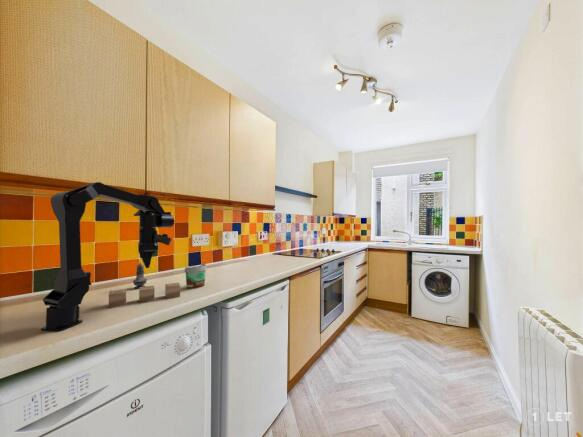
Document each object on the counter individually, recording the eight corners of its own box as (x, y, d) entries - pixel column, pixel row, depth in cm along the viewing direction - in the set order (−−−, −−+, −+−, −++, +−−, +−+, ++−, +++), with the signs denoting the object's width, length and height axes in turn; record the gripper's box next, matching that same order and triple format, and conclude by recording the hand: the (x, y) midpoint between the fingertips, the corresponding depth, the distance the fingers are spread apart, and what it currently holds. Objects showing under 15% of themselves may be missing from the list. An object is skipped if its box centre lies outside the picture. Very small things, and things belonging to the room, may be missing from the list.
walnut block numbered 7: (125, 305, 87) (125, 291, 87) (108, 308, 84) (108, 293, 84) (126, 301, 91) (126, 288, 91) (109, 304, 88) (110, 290, 89)
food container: (195, 290, 107) (195, 268, 107) (184, 289, 109) (184, 267, 109) (212, 284, 118) (212, 264, 119) (202, 283, 120) (202, 263, 121)
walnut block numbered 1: (180, 296, 97) (180, 284, 97) (166, 299, 94) (166, 286, 95) (178, 294, 101) (178, 281, 102) (165, 296, 99) (165, 283, 99)
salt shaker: (130, 289, 108) (130, 263, 108) (135, 286, 114) (135, 261, 114) (144, 288, 110) (145, 263, 110) (148, 285, 115) (149, 261, 116)
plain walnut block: (154, 301, 92) (154, 288, 92) (139, 303, 89) (139, 290, 90) (153, 297, 96) (153, 285, 96) (139, 299, 94) (139, 287, 94)
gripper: (173, 227, 90) (172, 268, 90) (167, 227, 106) (167, 262, 105) (138, 228, 84) (138, 271, 84) (138, 227, 100) (138, 264, 99)
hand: (147, 267), depth 93 cm, fingers open, 5 cm apart
